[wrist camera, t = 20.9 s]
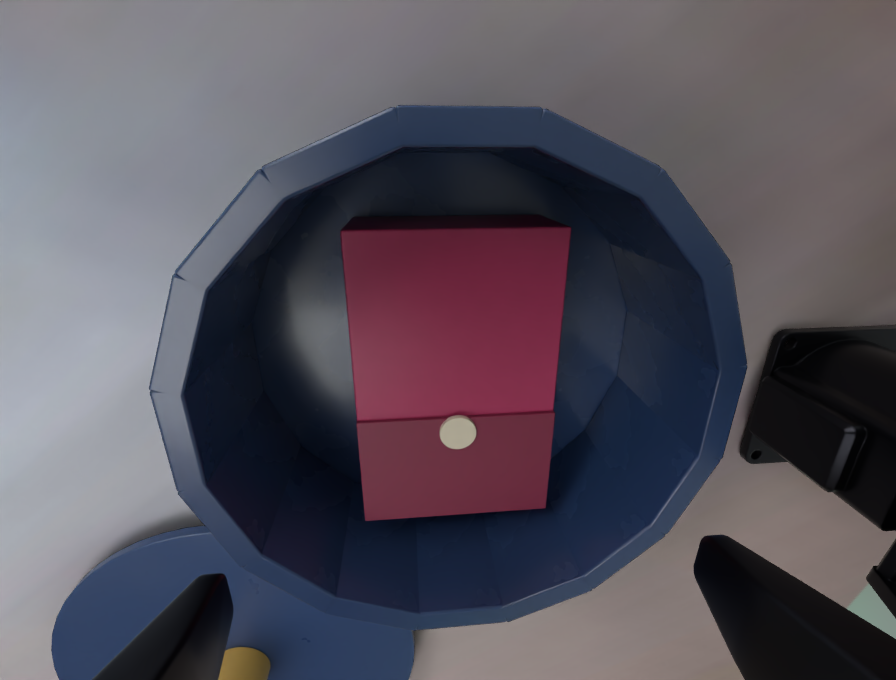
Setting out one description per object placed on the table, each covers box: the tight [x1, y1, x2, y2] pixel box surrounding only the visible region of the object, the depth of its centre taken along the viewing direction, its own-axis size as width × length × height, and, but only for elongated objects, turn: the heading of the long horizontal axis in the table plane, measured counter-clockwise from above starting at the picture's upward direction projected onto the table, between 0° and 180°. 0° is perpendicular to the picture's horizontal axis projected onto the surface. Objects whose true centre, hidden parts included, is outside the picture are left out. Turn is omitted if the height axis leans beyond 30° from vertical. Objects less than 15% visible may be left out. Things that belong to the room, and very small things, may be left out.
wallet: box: [340, 215, 571, 521], centre depth 16 cm, size 10×6×4 cm, turn 0°
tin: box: [149, 105, 747, 631], centre depth 15 cm, size 16×16×6 cm
